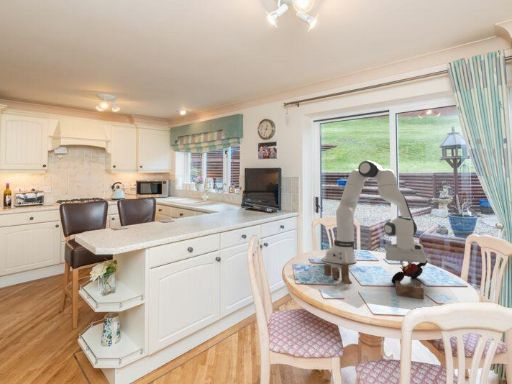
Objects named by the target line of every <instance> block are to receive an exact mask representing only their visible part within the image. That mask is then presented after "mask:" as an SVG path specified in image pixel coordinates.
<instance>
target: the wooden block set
mask: <svg viewBox="0 0 512 384" xmlns="http://www.w3.org/2000/svg"><path fill="white" fill-rule="evenodd" d="M349 264H350V263H349ZM349 264H348V263H347V262H342V263H341V264H340V268H339V267H338V266H333V267H332V264H328V263H326V264H324V265H323V275H324V276H325V277H331V276H332V277H331V278H332V279H334V280H339V279H340V278H341V282H342V283H343V284H345V285H351V284H353V282H352V281H351V279H350V277H349V276H350V271H349V270H350V269H349V267H350V266H349ZM340 276H341V277H340Z"/></svg>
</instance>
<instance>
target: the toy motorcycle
mask: <svg viewBox="0 0 512 384" xmlns="http://www.w3.org/2000/svg"><path fill="white" fill-rule="evenodd" d="M427 263H428V260H427V259H426V262H425V263H415V262H411V263H409V264H408V263H407V265H405V266H406V267H404V268H403V269H402V268H401V269H402V270H401V271H398V272H396V273H395V274H394V275H392V277H391V280H390V281H391V283H392V284H394V285H396V281H400V283H401V282H402V281H403V280H404V278H405V277H408V278H411V279H417V278H418V277H420V276H421V274H423V270H424V269H423V267H425V266H427Z"/></svg>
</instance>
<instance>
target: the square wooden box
mask: <svg viewBox="0 0 512 384" xmlns="http://www.w3.org/2000/svg"><path fill="white" fill-rule="evenodd" d="M395 292H396V297H403V298H413V299H418V300H419V299H421V300H424V287H422V284H421V283H419V282H415V286H413V285H406V284H405V285H403V284H401V282H400V281H396V284H395Z"/></svg>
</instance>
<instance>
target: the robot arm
mask: <svg viewBox="0 0 512 384" xmlns="http://www.w3.org/2000/svg"><path fill="white" fill-rule="evenodd" d="M366 181H376V184H377V188H378V189H377V190H378V195H379V197H380V198H381V199H382V200H384V201H385V202H388V203H392V204H393V205H395V206H396V207H397V208H398V210H399V214H400V215H398V216H397V217H395V219H392V220H388V221H386V222H385V223H384V227H383V229H384V233H385V235H387V236H388V237H393V238H394V237H395V239H396V240H395V243H394V244H393V243H387V244H385V246H384V250H385V260H386V261H393V262H394V261H395V262H399V264H400V265H401V269H403V268H404V267H406V266H407V265H408V264H409V263H411V262H412V263H417V264H419V263H425V262H426V260H427V255H426V252H425V250H424V246H423V245H422V244H421V243H418V242H416V241H415V239H414V236H415V234H416V233H417V231H418V226H417V224H416V223H415V220H414V218H413V216H412V215H413V214H412V212H411V209H410V206H409V204H408V201H407V199H406V196H405V195H404V194H402V192H401V191H400V189H399V186H398V181H397V176H395V171H393V170H392V169H389V168H384V167H383V166H382V165H380V164H379V163H377V162H374V161H372V160H364V161H362V162H361V163H359V165H358V168H357V169H353V170H352V171H350V173H349V175H348V177H347V180H346V183H345V186H344V189H343V192H342V195H341V198H340V200H339V201H340V202H339V205H338V207H337V209H336V212H335V215H336V239H334V240H333V245H332V246H331V247H330V248H328V249H327V250H326V252H325V256H323V257H322V259H321V260H322V261H323V262H326V263H327V262H328V263H335V264H340V265H341V263H342V262H347V263H348V264H355V263H357V258H356V253H355V248H356V242H355V229H354V228H355V225H354V224H355V223H354V222H355V221H354V217H355V216H354V215H355V211H356V209H357V205H358V203H359V200H360V197H361V195H362V190H363V187H364V185H365V182H366ZM405 262H407V265H404V264H403V263H405Z"/></svg>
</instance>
